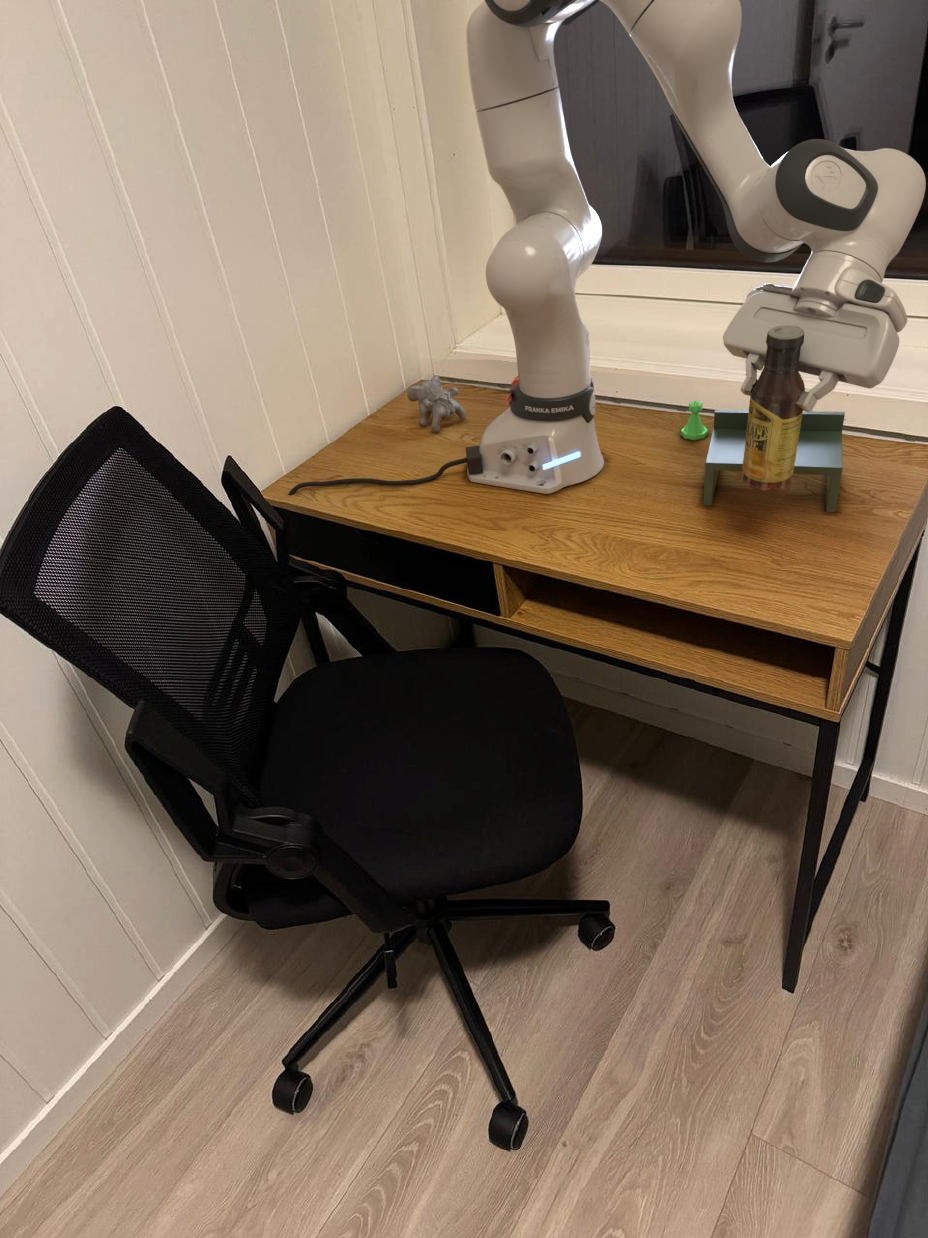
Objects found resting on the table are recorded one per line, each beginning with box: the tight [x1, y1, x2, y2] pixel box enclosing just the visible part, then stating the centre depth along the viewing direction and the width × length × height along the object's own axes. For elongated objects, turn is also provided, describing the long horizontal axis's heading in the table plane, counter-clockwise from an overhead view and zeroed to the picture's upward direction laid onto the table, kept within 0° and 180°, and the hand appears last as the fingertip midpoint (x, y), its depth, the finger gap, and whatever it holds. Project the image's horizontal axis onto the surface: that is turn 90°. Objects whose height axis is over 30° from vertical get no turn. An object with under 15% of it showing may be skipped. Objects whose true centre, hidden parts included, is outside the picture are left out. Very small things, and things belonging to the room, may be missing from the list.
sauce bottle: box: [742, 325, 806, 492], centre depth 104 cm, size 7×6×20 cm
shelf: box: [702, 409, 846, 513], centre depth 124 cm, size 18×12×10 cm, turn 71°
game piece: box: [680, 400, 709, 441], centre depth 142 cm, size 4×4×6 cm
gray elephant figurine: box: [406, 375, 467, 434], centre depth 158 cm, size 9×12×8 cm
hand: (774, 401), depth 102 cm, fingers closed on sauce bottle, 6 cm apart
